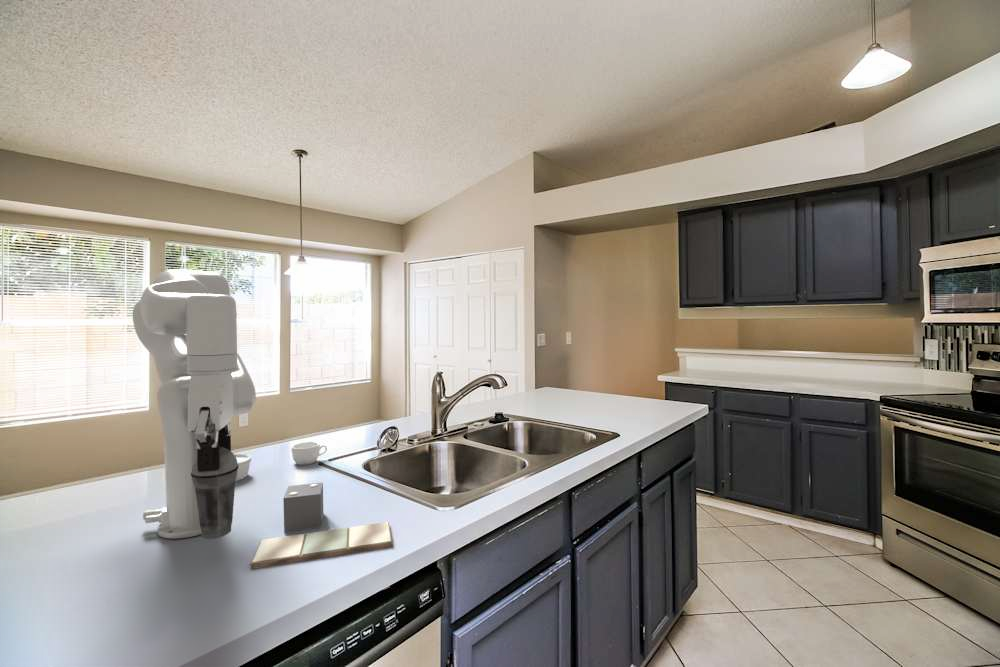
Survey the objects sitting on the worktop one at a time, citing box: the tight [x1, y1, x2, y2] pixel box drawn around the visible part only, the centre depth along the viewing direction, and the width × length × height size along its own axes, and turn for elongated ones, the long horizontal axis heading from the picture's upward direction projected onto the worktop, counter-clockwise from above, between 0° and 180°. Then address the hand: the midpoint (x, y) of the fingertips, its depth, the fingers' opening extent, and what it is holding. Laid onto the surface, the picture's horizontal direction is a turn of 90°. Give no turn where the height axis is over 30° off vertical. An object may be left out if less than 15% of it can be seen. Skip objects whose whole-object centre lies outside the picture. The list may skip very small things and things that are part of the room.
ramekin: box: [233, 453, 252, 482], centre depth 123 cm, size 11×11×5 cm
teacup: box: [291, 441, 328, 466], centre depth 137 cm, size 10×8×5 cm
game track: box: [250, 521, 393, 570], centre depth 86 cm, size 24×9×1 cm, turn 108°
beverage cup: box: [191, 427, 239, 540], centre depth 81 cm, size 7×7×20 cm
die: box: [283, 482, 324, 533], centre depth 96 cm, size 7×7×7 cm
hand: (215, 462), depth 81 cm, fingers closed on beverage cup, 6 cm apart
